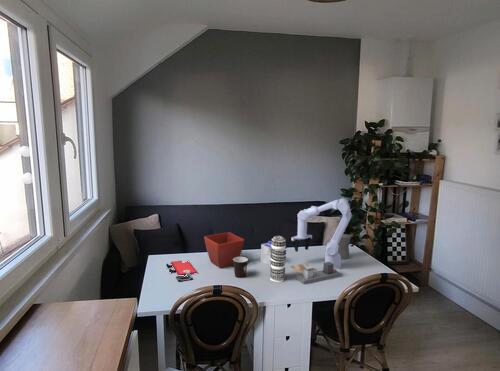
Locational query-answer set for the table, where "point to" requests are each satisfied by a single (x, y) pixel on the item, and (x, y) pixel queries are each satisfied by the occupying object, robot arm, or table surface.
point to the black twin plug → (328, 268)
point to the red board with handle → (182, 269)
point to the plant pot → (223, 248)
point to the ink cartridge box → (266, 253)
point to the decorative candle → (278, 259)
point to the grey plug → (308, 272)
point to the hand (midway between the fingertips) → (301, 250)
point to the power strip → (318, 276)
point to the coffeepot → (345, 245)
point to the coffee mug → (240, 266)
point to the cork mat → (300, 267)
